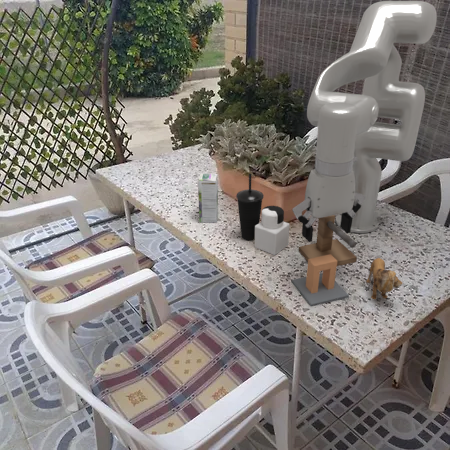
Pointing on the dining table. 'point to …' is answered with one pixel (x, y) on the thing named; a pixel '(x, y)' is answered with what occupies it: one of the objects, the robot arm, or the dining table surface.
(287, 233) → the medicine bottle
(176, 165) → the dining table surface
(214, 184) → the syrup box
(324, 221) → the stand
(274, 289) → the dining table surface
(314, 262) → the c link
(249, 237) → the drinking cup
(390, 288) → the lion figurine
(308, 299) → the slate mat
